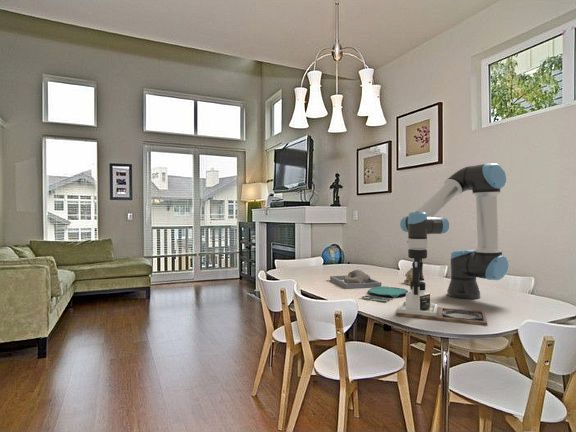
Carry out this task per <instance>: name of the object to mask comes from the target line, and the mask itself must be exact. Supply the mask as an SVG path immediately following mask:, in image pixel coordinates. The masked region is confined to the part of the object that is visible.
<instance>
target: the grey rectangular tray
mask: <svg viewBox="0 0 576 432" xmlns="http://www.w3.org/2000/svg"><path fill="white" fill-rule="evenodd" d="M347 276H348V274H347ZM344 277H345V274H344V275H329V280H330V281H331V282H333V283H335V284H337V285H338V286H340V287H342V288H345V290H347V289H365V288H366V289H372V288H375V287H382V282H381V281H378V280H376V279H373V278H371V277H370V279H369V280H366V281H365V282H364V283H356V284H347V283H345V282H344Z"/></svg>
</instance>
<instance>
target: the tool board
mask: <svg viewBox="0 0 576 432" xmlns="http://www.w3.org/2000/svg"><path fill="white" fill-rule="evenodd" d="M453 313H454V314H455V313H456V314H457V313H458V314H465V313H468V314H467V315H471V314H472V315H471V316H474V315H475V316H474V318H464V317H455V316H453V315H452V316H451V315H449V314H453ZM395 314H396V317H403V318H404V317H405V318H413V319H421V320H431V319H432V321H440V322H451V323H459V322H460V323H463V324H469V323H470V324H471V325H480V326H488V320H487V316H486V312H485V310H477V309H465V308H464V309H463V308H452V307H443V306H441V307H440V306H439V305H438V303H430V310H428V311H419V310H409V309H406V300H404V301H403V300H402V301H401V302H399V305H398V306H397V308H396V313H395ZM477 316H478V317H477ZM460 323H459V324H460Z"/></svg>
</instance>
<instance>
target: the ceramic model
mask: <svg viewBox="0 0 576 432" xmlns="http://www.w3.org/2000/svg"><path fill="white" fill-rule="evenodd" d="M412 269H413V267H411V268H410V269H409V270H408V271H407V272H406V273H405V275H404V276H405V279H404V285H408V286H410V283H411V282H412V276H413V270H412ZM424 277H425V276H424V275H423V278H424ZM421 281H422V280H421Z"/></svg>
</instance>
